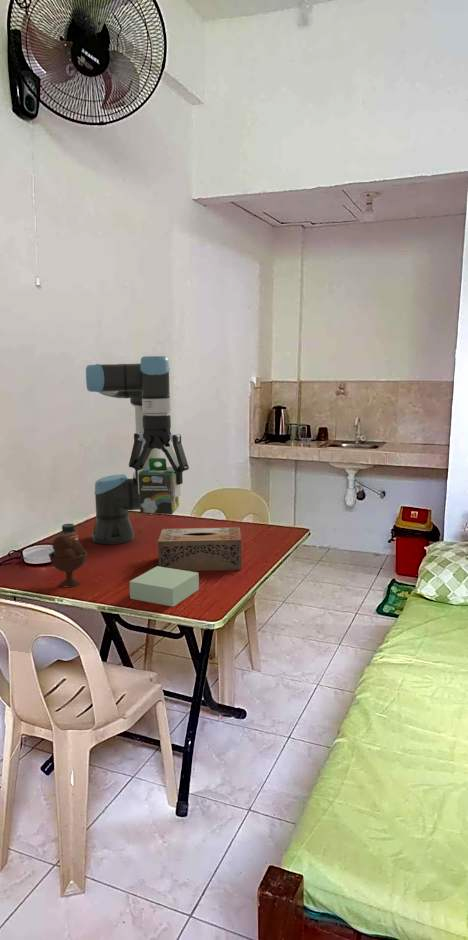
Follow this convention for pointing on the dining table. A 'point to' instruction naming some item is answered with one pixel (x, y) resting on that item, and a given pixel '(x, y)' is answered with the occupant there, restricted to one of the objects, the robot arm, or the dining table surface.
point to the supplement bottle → (69, 531)
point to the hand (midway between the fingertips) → (159, 494)
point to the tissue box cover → (200, 549)
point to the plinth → (164, 586)
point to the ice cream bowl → (67, 557)
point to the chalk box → (157, 489)
